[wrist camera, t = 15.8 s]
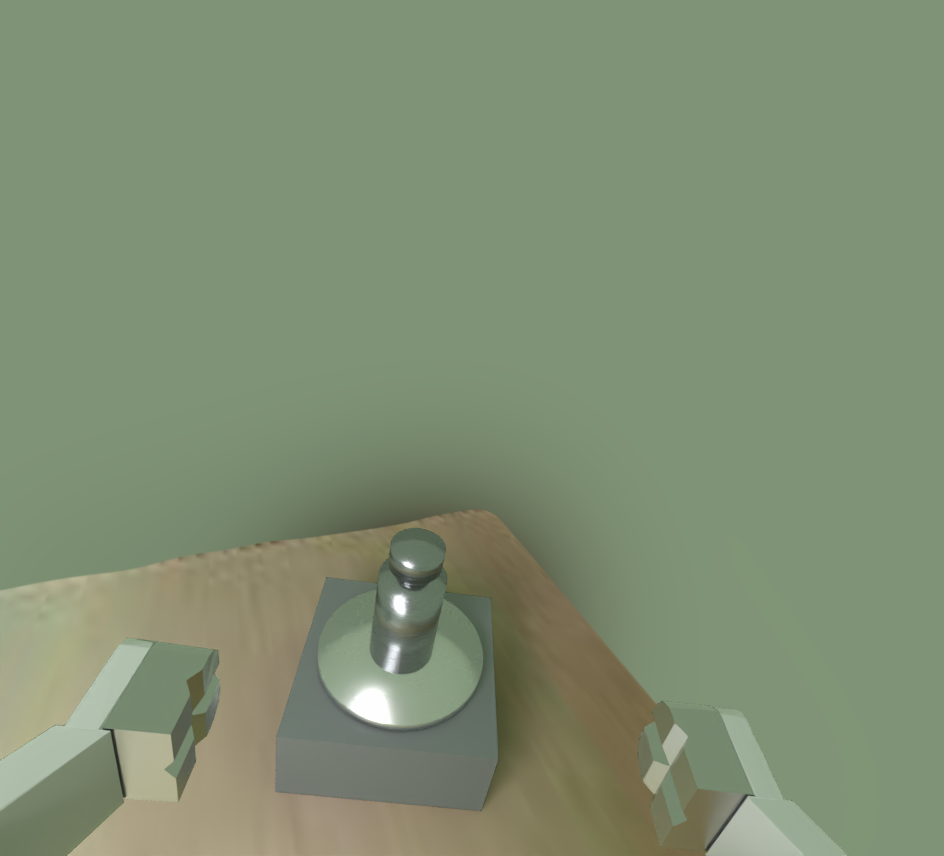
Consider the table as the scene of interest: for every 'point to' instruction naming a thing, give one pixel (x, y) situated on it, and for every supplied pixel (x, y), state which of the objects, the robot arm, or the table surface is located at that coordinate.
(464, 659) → the scale pan
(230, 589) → the table surface
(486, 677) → the scale base
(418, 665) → the calibration weight
